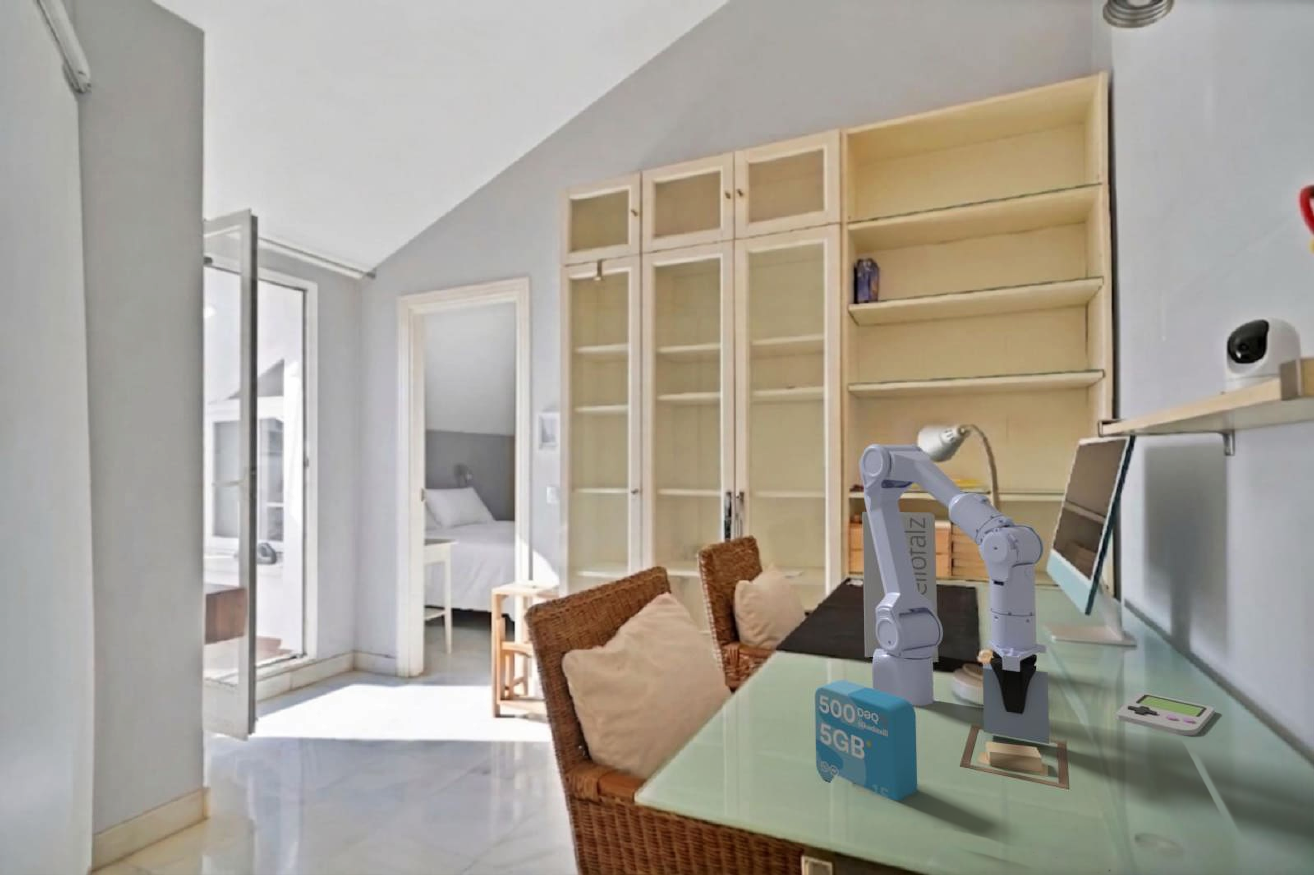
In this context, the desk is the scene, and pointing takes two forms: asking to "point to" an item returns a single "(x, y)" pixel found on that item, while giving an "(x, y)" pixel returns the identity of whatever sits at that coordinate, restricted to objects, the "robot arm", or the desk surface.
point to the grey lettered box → (923, 562)
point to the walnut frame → (1061, 774)
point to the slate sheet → (1013, 724)
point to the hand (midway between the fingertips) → (1014, 708)
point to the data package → (866, 738)
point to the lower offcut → (984, 760)
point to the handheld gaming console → (1165, 714)
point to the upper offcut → (1013, 756)
